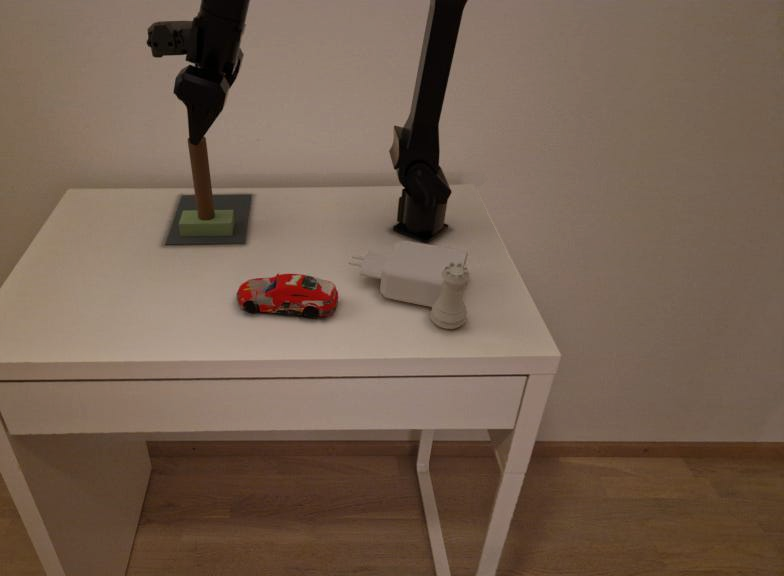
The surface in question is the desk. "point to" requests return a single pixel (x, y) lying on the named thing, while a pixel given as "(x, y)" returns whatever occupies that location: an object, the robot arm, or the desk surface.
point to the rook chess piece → (451, 298)
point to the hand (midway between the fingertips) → (199, 131)
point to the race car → (289, 295)
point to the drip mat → (220, 203)
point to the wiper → (204, 200)
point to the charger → (410, 270)
